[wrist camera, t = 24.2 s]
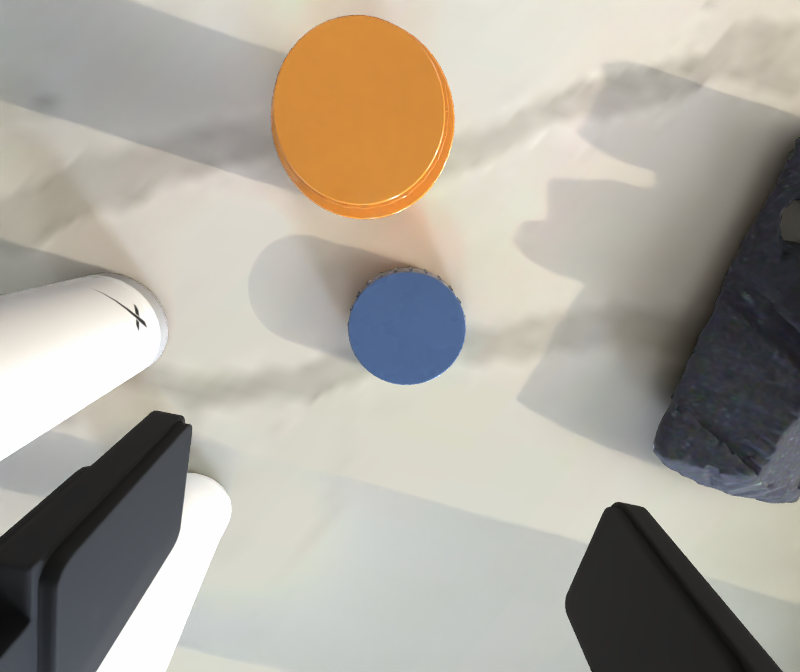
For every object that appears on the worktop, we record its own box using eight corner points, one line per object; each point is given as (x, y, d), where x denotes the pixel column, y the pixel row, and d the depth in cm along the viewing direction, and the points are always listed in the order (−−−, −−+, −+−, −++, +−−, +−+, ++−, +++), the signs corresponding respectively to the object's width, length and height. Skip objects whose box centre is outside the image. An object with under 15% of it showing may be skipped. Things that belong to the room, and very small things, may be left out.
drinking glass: (244, 545, 32) (118, 826, 17) (149, 538, 31) (-59, 817, 17) (244, 463, 30) (102, 702, 15) (143, 455, 30) (-97, 690, 15)
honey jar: (330, 225, 25) (286, 237, 15) (302, 101, 24) (230, 19, 13) (443, 203, 25) (474, 200, 15) (423, 75, 23) (443, -28, 13)
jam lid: (430, 391, 28) (432, 403, 27) (332, 346, 27) (328, 356, 26) (482, 297, 27) (488, 303, 25) (379, 246, 26) (378, 249, 24)
